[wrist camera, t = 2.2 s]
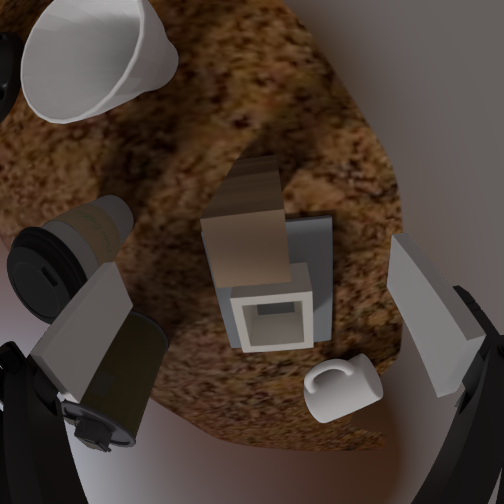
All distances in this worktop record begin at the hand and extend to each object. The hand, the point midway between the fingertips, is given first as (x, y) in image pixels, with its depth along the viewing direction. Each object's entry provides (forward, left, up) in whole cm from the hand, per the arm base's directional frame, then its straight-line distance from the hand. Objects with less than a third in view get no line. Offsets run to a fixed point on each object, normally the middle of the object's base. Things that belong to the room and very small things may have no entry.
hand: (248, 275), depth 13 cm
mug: (+30, +8, -18) cm, 36 cm away
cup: (-14, -9, -18) cm, 25 cm away
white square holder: (+14, 0, -17) cm, 22 cm away
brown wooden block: (0, 0, -18) cm, 18 cm away
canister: (+21, -22, -18) cm, 35 cm away
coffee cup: (+2, -18, -18) cm, 26 cm away
